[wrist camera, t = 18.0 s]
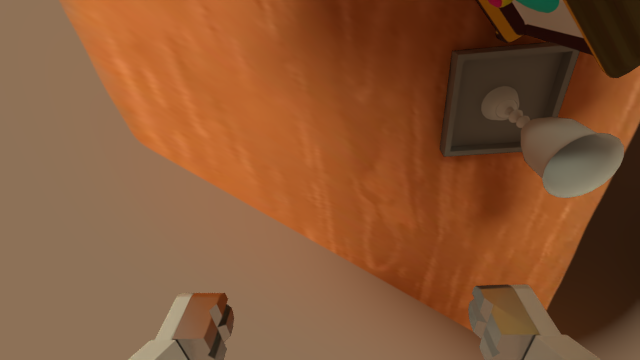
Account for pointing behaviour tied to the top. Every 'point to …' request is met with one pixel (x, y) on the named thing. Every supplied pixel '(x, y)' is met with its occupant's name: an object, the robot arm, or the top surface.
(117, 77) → the top surface
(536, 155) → the chalice
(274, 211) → the top surface
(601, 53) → the decorative lantern
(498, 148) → the tray
